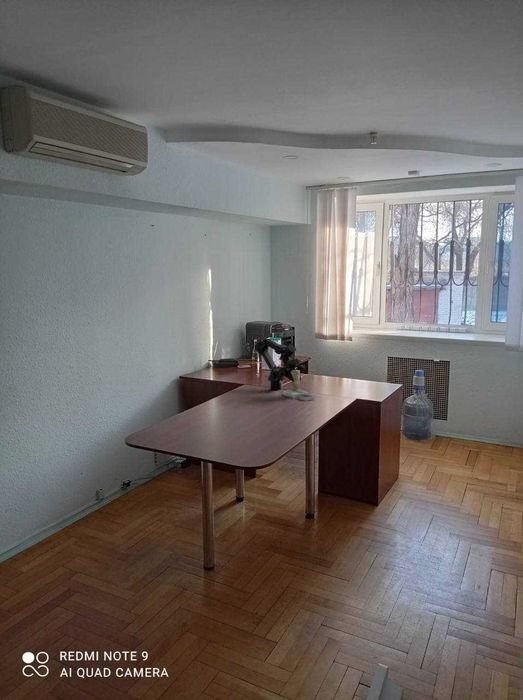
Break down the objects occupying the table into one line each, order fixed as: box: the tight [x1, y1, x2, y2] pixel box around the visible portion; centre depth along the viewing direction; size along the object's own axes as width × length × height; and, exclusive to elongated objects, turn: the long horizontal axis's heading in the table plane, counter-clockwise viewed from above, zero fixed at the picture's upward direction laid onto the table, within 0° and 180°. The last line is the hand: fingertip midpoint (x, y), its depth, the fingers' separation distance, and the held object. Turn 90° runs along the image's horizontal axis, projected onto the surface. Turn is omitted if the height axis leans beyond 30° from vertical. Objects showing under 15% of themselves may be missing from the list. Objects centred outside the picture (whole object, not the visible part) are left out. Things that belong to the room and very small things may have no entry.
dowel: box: [291, 370, 301, 392], centre depth 327 cm, size 5×5×13 cm
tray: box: [282, 389, 309, 399], centre depth 328 cm, size 12×12×2 cm
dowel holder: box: [296, 393, 315, 402], centre depth 319 cm, size 8×8×2 cm
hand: (296, 381), depth 326 cm, fingers closed on dowel, 5 cm apart
